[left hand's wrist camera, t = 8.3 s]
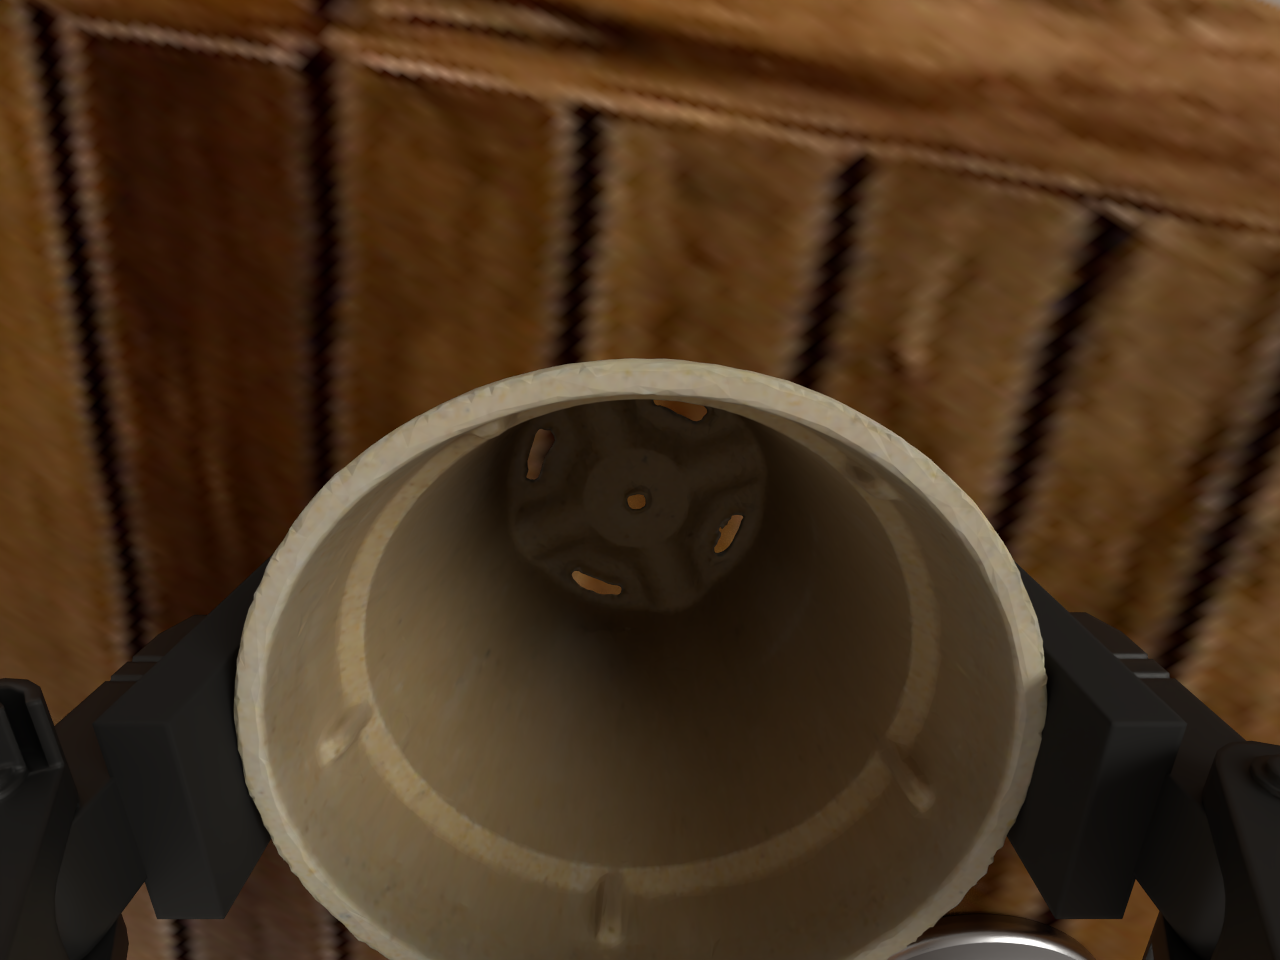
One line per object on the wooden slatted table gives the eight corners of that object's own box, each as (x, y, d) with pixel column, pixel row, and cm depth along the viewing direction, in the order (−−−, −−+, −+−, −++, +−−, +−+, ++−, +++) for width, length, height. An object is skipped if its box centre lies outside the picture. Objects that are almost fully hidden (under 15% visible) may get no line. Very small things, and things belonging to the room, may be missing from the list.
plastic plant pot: (868, 279, 15) (1147, 363, 7) (826, 664, 18) (977, 1031, 10) (413, 279, 15) (138, 362, 7) (454, 664, 18) (305, 1033, 10)
